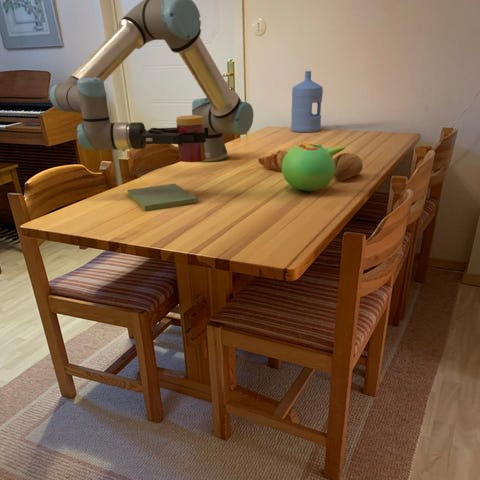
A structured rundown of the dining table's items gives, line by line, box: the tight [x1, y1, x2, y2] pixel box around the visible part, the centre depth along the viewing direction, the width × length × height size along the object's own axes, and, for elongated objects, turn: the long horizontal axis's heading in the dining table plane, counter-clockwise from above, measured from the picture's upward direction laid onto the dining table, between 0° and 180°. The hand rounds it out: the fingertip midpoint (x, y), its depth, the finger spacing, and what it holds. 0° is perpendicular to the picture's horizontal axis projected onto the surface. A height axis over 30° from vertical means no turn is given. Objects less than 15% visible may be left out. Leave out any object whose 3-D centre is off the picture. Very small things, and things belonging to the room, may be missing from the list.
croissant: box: [257, 149, 288, 172], centre depth 180 cm, size 21×10×8 cm, turn 63°
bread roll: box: [333, 152, 364, 181], centre depth 166 cm, size 10×15×8 cm, turn 149°
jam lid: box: [175, 114, 203, 126], centre depth 142 cm, size 8×8×2 cm
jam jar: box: [176, 124, 206, 163], centre depth 145 cm, size 8×8×11 cm
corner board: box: [127, 183, 198, 212], centre depth 150 cm, size 20×16×2 cm
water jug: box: [290, 70, 324, 133], centre depth 250 cm, size 16×16×28 cm
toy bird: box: [281, 141, 346, 192], centre depth 153 cm, size 18×17×15 cm
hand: (206, 134), depth 144 cm, fingers closed on jam jar, 8 cm apart
